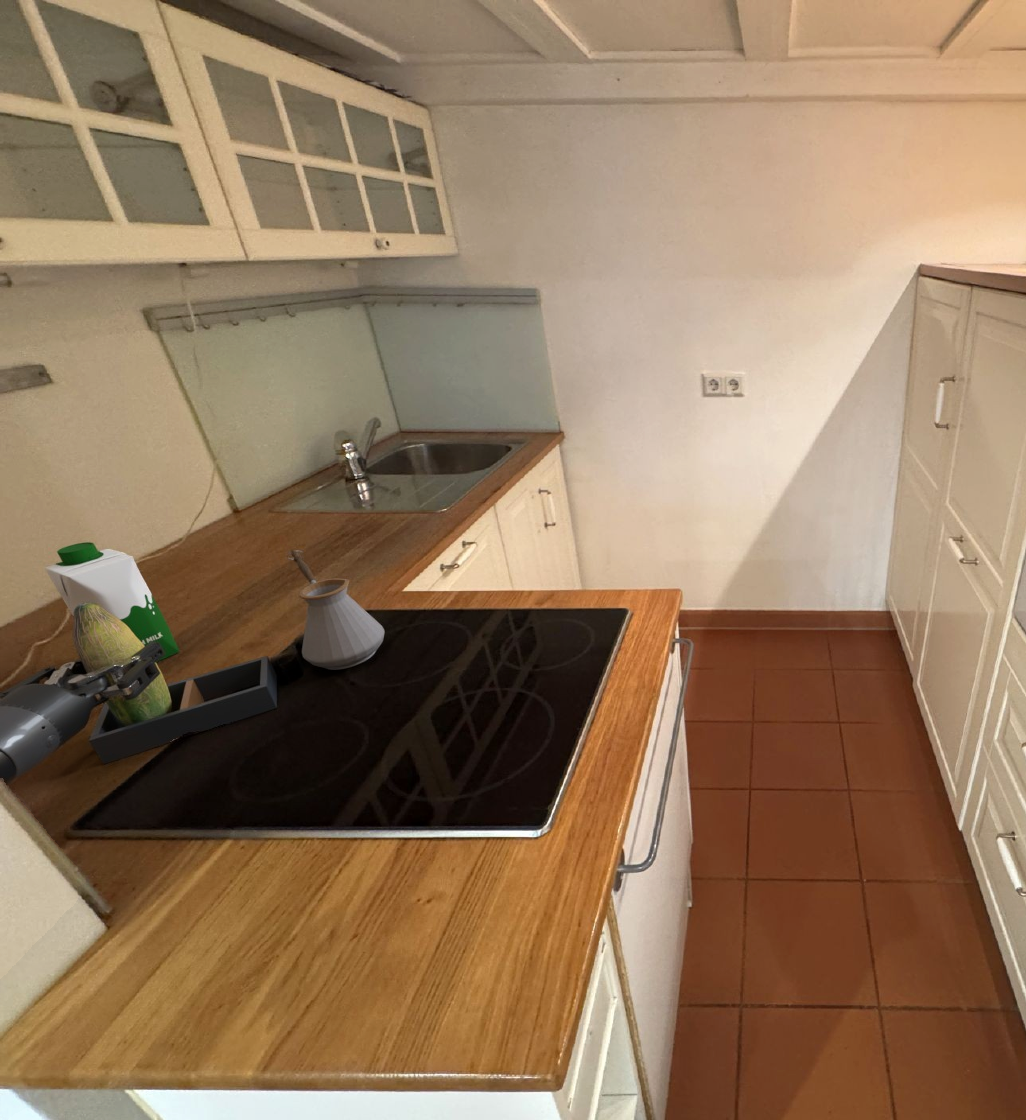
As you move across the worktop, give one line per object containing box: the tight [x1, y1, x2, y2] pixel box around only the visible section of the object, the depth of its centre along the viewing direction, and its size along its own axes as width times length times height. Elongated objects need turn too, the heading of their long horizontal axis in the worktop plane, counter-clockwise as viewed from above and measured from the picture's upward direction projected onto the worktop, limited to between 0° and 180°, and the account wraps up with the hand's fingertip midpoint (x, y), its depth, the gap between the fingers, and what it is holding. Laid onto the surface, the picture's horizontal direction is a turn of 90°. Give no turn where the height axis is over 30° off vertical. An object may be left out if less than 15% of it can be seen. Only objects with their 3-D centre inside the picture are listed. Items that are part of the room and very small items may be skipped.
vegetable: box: [72, 603, 172, 727], centre depth 81 cm, size 6×6×20 cm
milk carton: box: [44, 541, 180, 663], centre depth 97 cm, size 9×9×20 cm
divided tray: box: [88, 655, 278, 765], centre depth 87 cm, size 18×10×4 cm, turn 126°
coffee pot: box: [286, 549, 386, 671], centre depth 100 cm, size 21×12×15 cm, turn 48°
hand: (131, 650), depth 82 cm, fingers closed on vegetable, 6 cm apart
